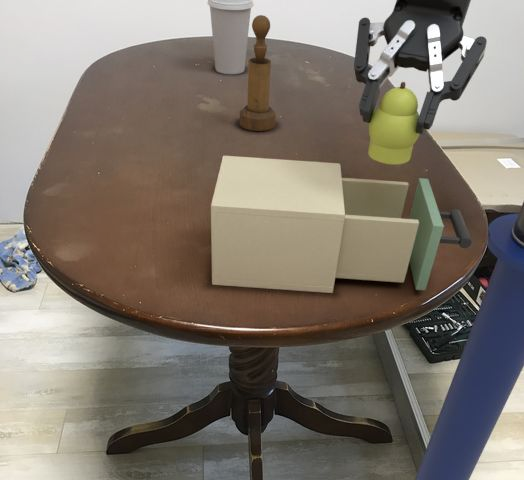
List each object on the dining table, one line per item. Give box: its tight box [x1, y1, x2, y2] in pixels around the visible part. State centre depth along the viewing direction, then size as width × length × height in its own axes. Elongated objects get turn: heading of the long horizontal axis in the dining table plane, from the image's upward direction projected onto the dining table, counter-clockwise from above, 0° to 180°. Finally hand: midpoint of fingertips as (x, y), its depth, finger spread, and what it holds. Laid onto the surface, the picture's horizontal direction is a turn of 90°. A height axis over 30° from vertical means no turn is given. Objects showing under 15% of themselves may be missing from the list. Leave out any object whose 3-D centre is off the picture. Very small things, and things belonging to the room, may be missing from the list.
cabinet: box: [210, 155, 345, 294], centre depth 73 cm, size 15×13×11 cm
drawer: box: [335, 177, 473, 291], centre depth 73 cm, size 18×12×9 cm, turn 87°
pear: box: [367, 81, 420, 165], centre depth 64 cm, size 6×6×8 cm
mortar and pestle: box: [239, 14, 277, 132], centre depth 103 cm, size 7×6×18 cm
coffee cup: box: [207, 0, 254, 75], centre depth 126 cm, size 10×10×15 cm
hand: (392, 124), depth 63 cm, fingers closed on pear, 5 cm apart
